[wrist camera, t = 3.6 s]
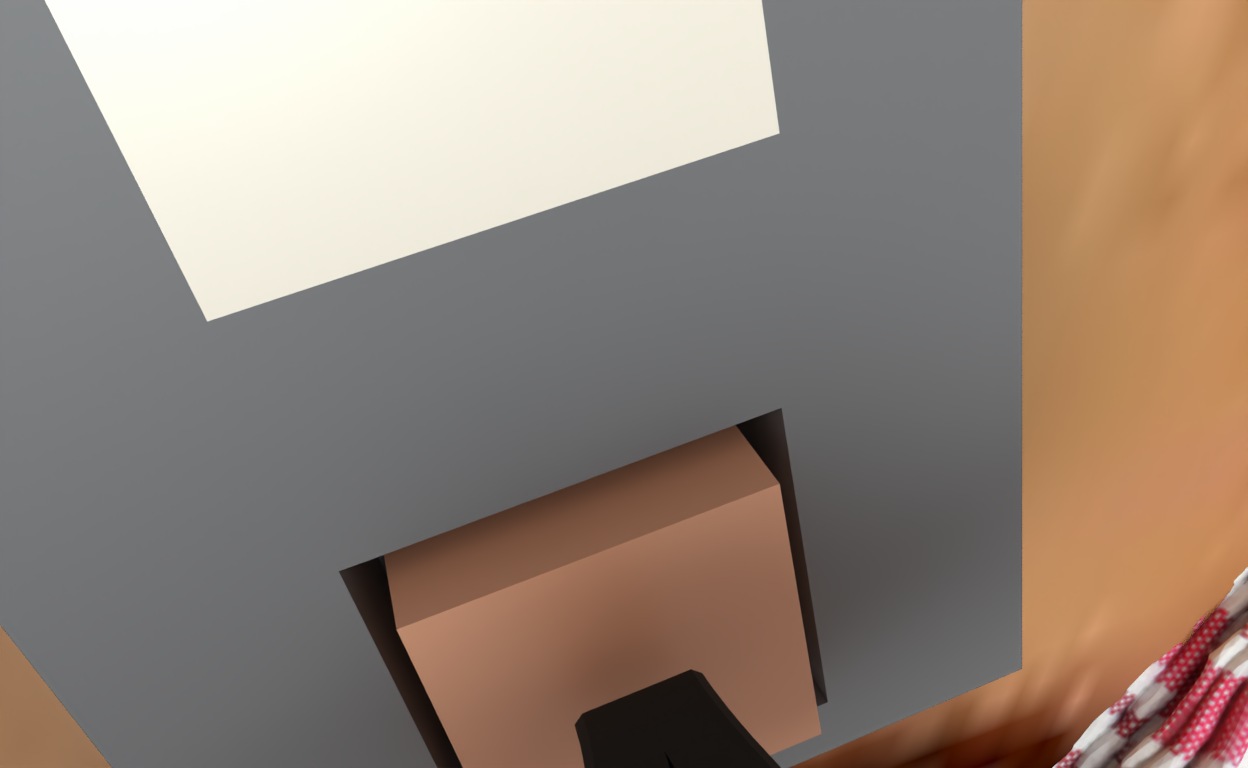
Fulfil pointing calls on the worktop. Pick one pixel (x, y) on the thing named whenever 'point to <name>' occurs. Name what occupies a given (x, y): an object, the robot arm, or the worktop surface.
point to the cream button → (400, 118)
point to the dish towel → (1181, 703)
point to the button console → (519, 400)
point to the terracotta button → (610, 606)
